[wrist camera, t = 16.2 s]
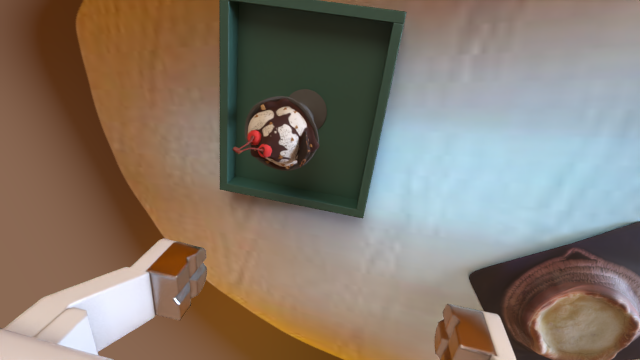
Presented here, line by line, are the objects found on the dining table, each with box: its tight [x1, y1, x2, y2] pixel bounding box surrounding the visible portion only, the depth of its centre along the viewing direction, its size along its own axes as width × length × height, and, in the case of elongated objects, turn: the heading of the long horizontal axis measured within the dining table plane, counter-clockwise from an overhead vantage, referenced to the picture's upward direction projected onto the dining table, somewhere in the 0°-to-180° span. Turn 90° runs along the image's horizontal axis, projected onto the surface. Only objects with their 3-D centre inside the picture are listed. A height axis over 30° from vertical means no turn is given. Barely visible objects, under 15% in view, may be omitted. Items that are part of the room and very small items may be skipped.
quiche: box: [469, 222, 640, 360], centre depth 41 cm, size 21×20×4 cm
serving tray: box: [220, 0, 406, 218], centre depth 37 cm, size 22×18×3 cm
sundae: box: [233, 89, 327, 171], centre depth 31 cm, size 7×7×15 cm
